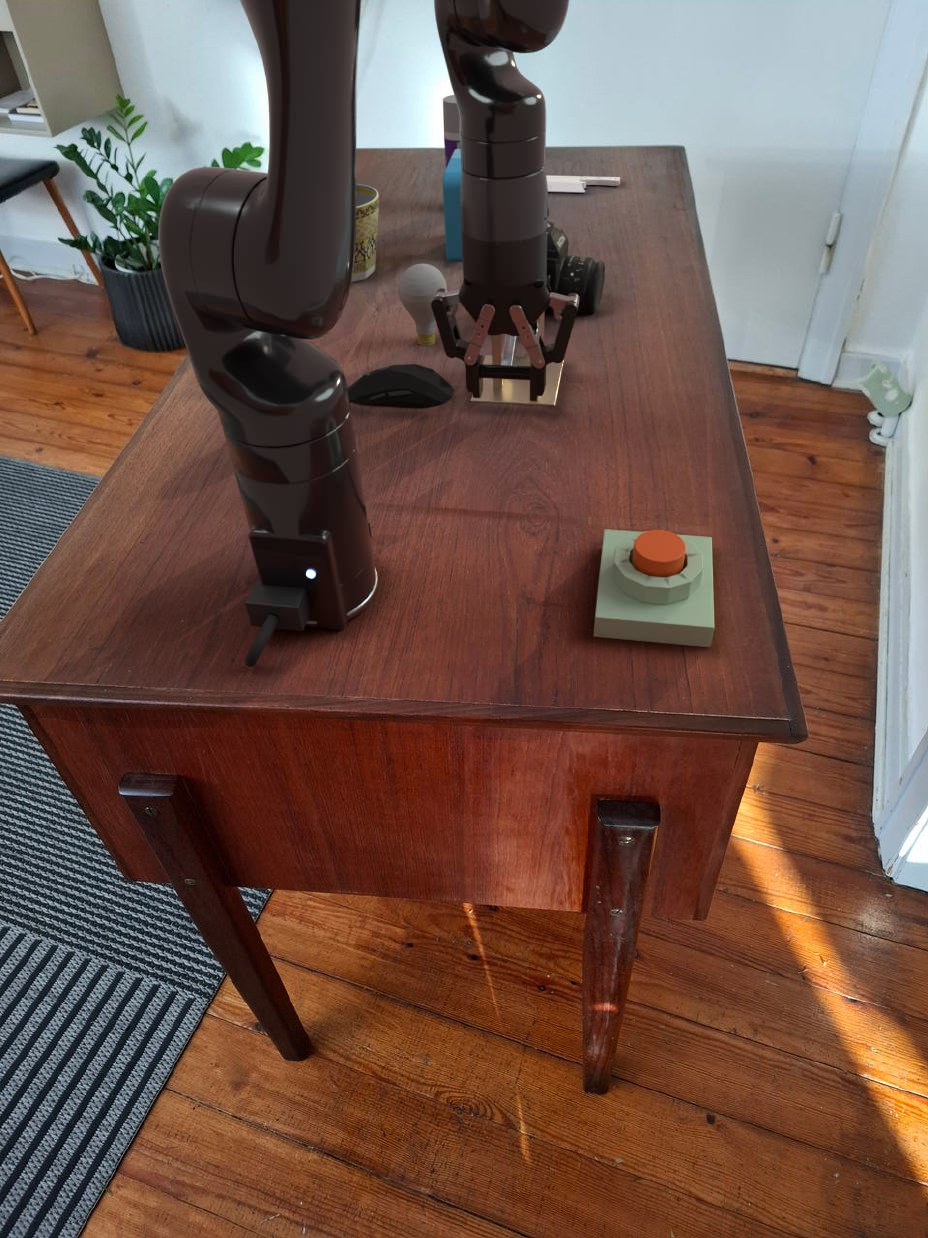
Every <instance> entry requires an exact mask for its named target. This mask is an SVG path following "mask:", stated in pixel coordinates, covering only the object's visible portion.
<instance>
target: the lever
mask: <svg viewBox="0 0 928 1238" xmlns="http://www.w3.org/2000/svg"><path fill="white" fill-rule="evenodd" d="M518 337H519V336H510V335H507V334H505V341H504V347H503V353H502V360H501V365H491V364H483V363H482V364H481V365H480V378H491V379H512V380H530V367H531V366H513V363H514V357H515V356H516V349H517V343H518Z"/></svg>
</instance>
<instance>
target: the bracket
mask: <svg viewBox="0 0 928 1238" xmlns="http://www.w3.org/2000/svg"><path fill="white" fill-rule="evenodd" d="M545 315H546V313H545V311H544V312H543V313H542V315H541V316H540V317H539V318H538V322H539V324H540V327H541V333H542V336H543V339H544V340H545ZM504 341H505V334H500V335H491V354H485V355H484V359H483V360H482V364H491V365H501V360H502V353H503V347H504ZM564 362H565V359H564V360H563V361H562V362H561V363H554V362H552V363H549V364H548V365H547V366H546V387H545V391H544V394H543V396H538V400H537V401H530V380H512V379H491V378H483V391H482V395H481V398H473V393H472V394H471V397H470V403H481V404H482V403H484V404H501V405H502V404H503V405H522V406H539V407H555V406H556V402H557V398H558V397H557V396H558V392H559V387H560V381H561V379H562V378H561V377H562V372H563V367H564ZM531 363H532V361H531V359H530V356H519V355H518V356H516V355H515V357H514V363H513V366H531Z"/></svg>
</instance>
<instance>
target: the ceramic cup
mask: <svg viewBox="0 0 928 1238" xmlns="http://www.w3.org/2000/svg"><path fill="white" fill-rule="evenodd" d="M379 207H380V195H379V192H378V190H377V189H375V188H374V187H372V186H369V185H367V184H361V183H356V242H355V259H354V269H353V276H352V281H351V283H354V282H358V281H364V280H366V279H367V278H369V276H371V275H372V274H373V273H374V272H375V270H376V259H377V242H378V241H377V240H378V225H379V213H380V212H379V210H380V209H379Z"/></svg>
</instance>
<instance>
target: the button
mask: <svg viewBox="0 0 928 1238" xmlns="http://www.w3.org/2000/svg"><path fill="white" fill-rule="evenodd" d="M646 531H647V532H645V531H643V532H644V533H642V534H640V535H639V536H638V537H637V538H636V540H635V542H634V550H633V559H632V560H633V565H634V567H635V568H636V569H637V570H638V571H639V572H641V573H643V574H646V575H648V576H651V577H664V578H667V577H670V576H674V575H676V574H678V573H679V572H680V571H681V570H682V568H683V564H684V558H685V552H686V545H685V543H684V541H683V539H682V538H681V537H679V536H678V535H679V534H676V533H674V532H672V531H669V530H662V529H650V530H646Z"/></svg>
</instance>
